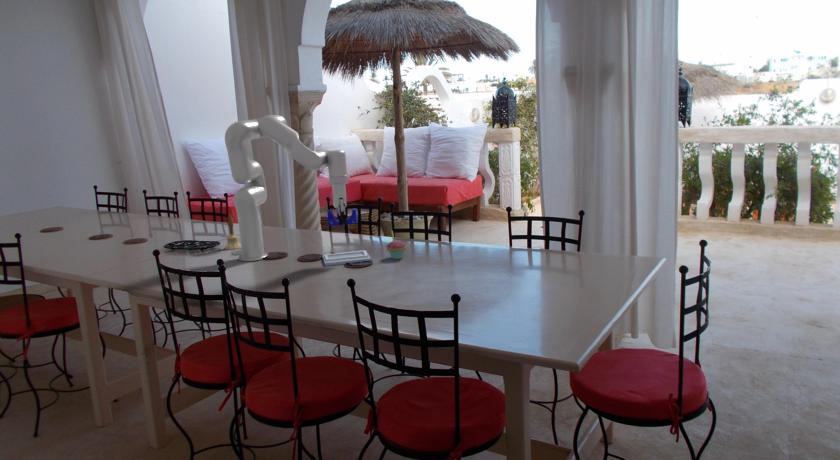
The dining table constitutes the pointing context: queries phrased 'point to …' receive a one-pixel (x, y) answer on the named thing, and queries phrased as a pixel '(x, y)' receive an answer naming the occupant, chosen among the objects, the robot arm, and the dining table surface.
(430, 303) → the dining table surface
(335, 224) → the cable clip
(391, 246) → the cupcake
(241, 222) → the robot arm
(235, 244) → the hand bell
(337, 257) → the door panel
